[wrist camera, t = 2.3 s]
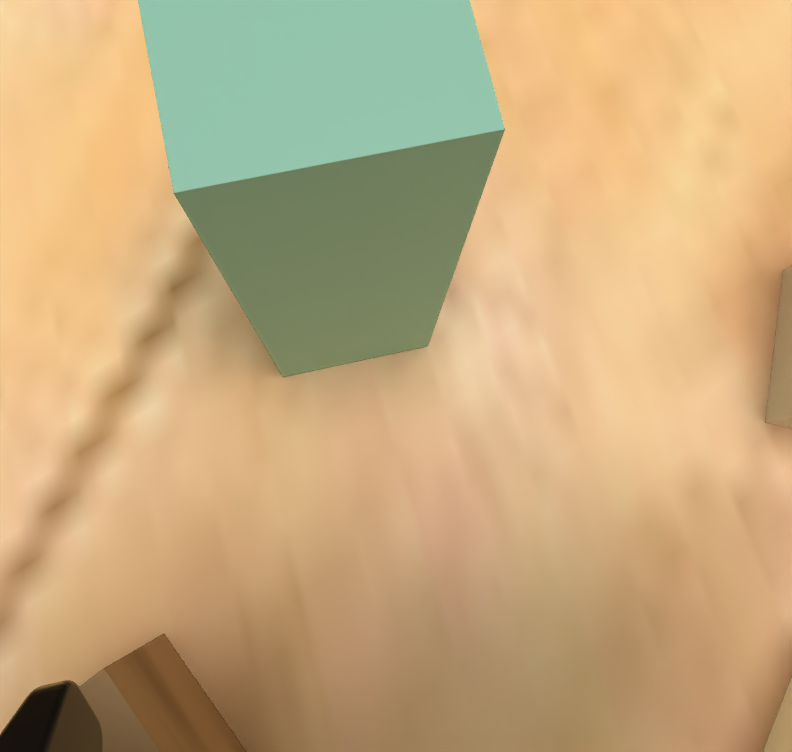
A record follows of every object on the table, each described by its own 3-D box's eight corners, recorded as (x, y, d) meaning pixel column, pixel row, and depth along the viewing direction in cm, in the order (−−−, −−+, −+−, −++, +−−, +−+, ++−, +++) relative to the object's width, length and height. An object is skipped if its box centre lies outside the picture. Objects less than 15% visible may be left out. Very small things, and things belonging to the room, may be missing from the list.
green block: (427, 346, 23) (504, 128, 10) (282, 377, 23) (173, 193, 10) (395, 210, 24) (428, -149, 11) (254, 238, 23) (119, -99, 11)
